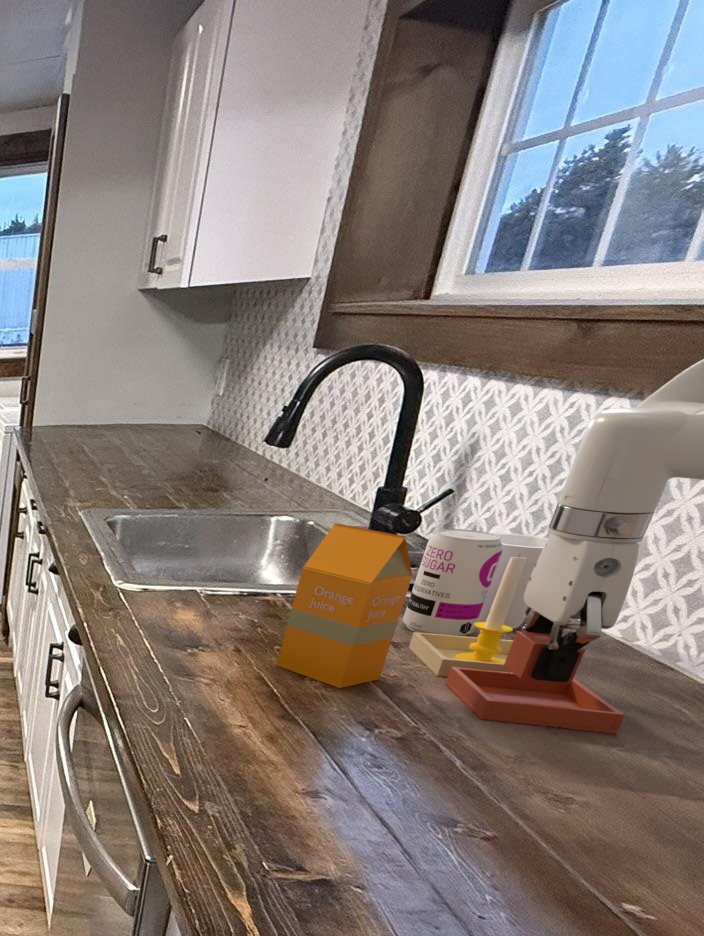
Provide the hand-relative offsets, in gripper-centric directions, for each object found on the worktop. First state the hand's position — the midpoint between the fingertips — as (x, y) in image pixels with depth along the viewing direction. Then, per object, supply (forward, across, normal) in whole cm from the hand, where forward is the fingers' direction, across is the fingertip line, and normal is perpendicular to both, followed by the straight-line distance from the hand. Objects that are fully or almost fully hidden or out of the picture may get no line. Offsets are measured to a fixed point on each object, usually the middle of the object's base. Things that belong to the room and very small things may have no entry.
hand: (538, 670), depth 100 cm
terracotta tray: (+5, 0, 0) cm, 5 cm away
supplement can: (+5, +30, 0) cm, 30 cm away
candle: (+5, +14, 0) cm, 15 cm away
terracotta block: (+1, 0, 0) cm, 1 cm away
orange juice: (+5, +6, +19) cm, 20 cm away
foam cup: (+5, +37, -9) cm, 38 cm away
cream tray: (+5, +14, 0) cm, 15 cm away
